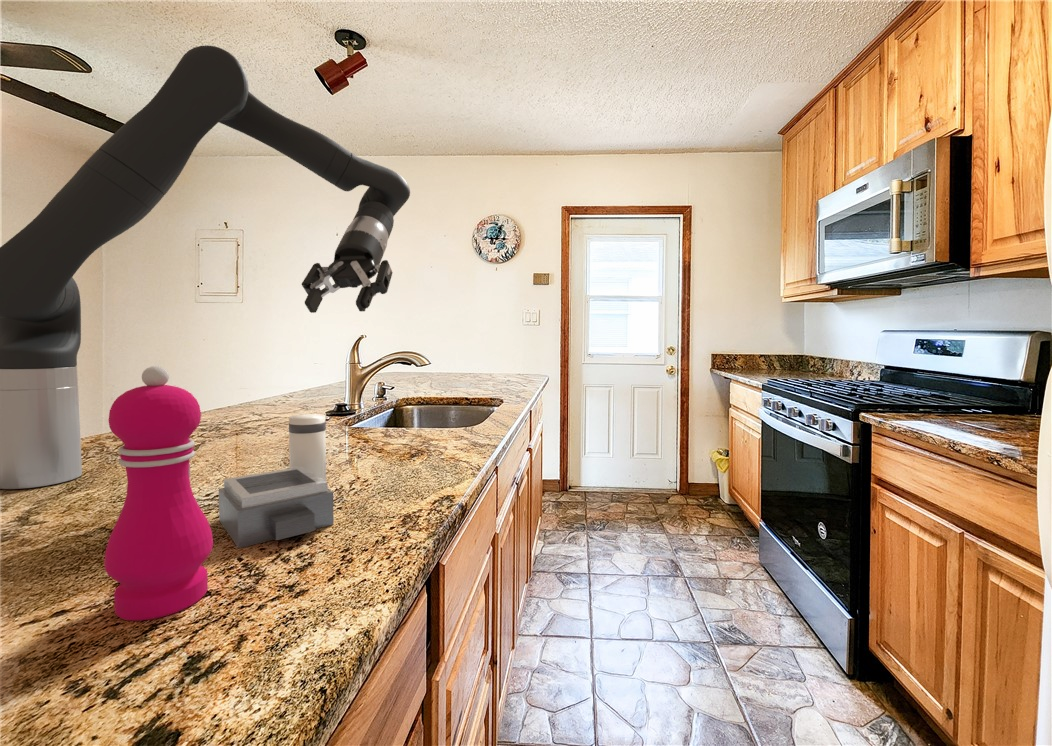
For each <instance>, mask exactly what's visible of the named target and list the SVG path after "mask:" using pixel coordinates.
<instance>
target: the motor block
mask: <svg viewBox="0 0 1052 746" xmlns="http://www.w3.org/2000/svg"><path fill="white" fill-rule="evenodd" d="M218 513H219V514H218V516H219V522H220V524H221V525H222V526H224V527H223V528H224V529H225V531H226V532H227V534H228V536H230V539H232V541H233V542H234V545H236V547H237V548H238V549H242V548H246V547H249V546H253V545H256V544H257V545H258V544H261V543H266V542H270V541H273V540H275V541H280V540H283V539H287V538H288V539H289V538H292V537H296V536H299V535H303V534H307V533H311V532H315V530H317V529H321V528H326V527H329V526H334V525H333V524H334V522H335V521H334V519H335V517H334V491H332V490H330V489H329V488H328V482H327V480H326V481H325V480H323V479H322V478H320V477H318V476H317V475H315V474H314V473H312V472H310V471H309V470H307V469H306V468H304V467H296V468H290V467H289V468H285V469H278V470H272V471H266V472H261V473H253V474H247V475H242V476H235V477H229V478H224V479H223V487H220V488H218ZM325 526H326V527H325Z"/></svg>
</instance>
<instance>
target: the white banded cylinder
mask: <svg viewBox="0 0 1052 746" xmlns="http://www.w3.org/2000/svg"><path fill="white" fill-rule="evenodd" d="M326 430H327V421H326V415H325V414H320V413H303V414H295V415H291V416H289V417H288V436H289V442H288V445H289V452H288V453H289V469H290V468H296V467H304V468H306V469H307V470H309V471H310V472H312V473H314V474H315V475H317V476H318V477H320V478H322V479H323V480H325V481H326V482H327V456H326V455H327V453H326V452H327V451H326V448H327V446H326V444H327V443H326Z"/></svg>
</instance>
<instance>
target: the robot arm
mask: <svg viewBox="0 0 1052 746" xmlns="http://www.w3.org/2000/svg"><path fill="white" fill-rule="evenodd" d="M218 123H220V124H222V125H223V126H226V127H229V128H231V129H233V130H235V131H237V132H239V133H242V134H244V135H247V136H249V137H251V138H252V139H255V140H256V141H258V142H260V143H263V144H264V145H266V146H268V147H270V148H272V149H274V150H275V151H278V152H279V153H280V154H283V155H284V156H286V157H287V158H289V159H291V160H293V161H295V162H296V163H298V164H299V165H301V166H302V167H304V168H306V169H307V170H309V171H310V172H312V173H314V174H316V175H317V176H318V177H320V178H322V179H323V180H325V181H326V182H328V183H330V184H331V185H333V186H335V187H337V188H338V189H340V190H341V191H344V192H351V191H352V190H355V189H356V188H357V187H360V186H365V187H368V188H367V189H366V191H365V192H364V194H363V195H362V196H361V199H360V201H359V204H358V208H357V211H356V213H355V216H354V217H353V218H352V221H351V222H350V224H349V225H348V226H347V228H346V230H345V231H344V233H343V235H342V237H341V239H340V241H339V243H338V245H337V247H336V249H335V251H334V256H333V257H334V258H333V262H331V263H330V264H329V265H328V266H322V265H321V264H320V263H319V262H315V263H314V264H313V265H312V266H311V268H310V269H309V271H308V273H307V274H306V275H305V277H304V279H303V280H302V282H301V287H302V288H303V289H304V291H305V293H306V294H307V296H306V298H305V300H304V305H305V306H306V308H307V310H308V311H309V312H310V313H311V314H312V313H313V314H314V313H315V314H316V313H317V312H318V309H319V307H320V305H321V303H322V301H323V298H324V297H325V296H327V295H328V294H329V293H330V294H333V293H336V292H337V291H339V290H340V289H345V288H355V289H356V288H358V287H359V286H361V288H360V291H359V293H358V295H357V297H356V300H355V306H356V307H357V309H358V311H359V312H366V309H368V308H369V307H370V305H371V304H372V303H371V302H372V300H373V298H374V297H376V296H377V294H381V295H386V294H387V293H388V290H389V288H390V287H389V286H390V283H391V279H392V277H393V270H392V267H391V265H390V263H389V261H388V260H387V259H384V260H383V256H384V254H385V252H386V248H387V246H388V241H389V238H390V236H391V233H392V230H393V229H394V221H395V219H394V217H395V215H397V213H398V212H399V211H400V210H401V208H402V207H403V206H405V204H406V203H407V201H408V200H409V198H410V196H411V190H410V186H409V184H408V183H407V181H406V179H405V178H404V177H403V176H402V175H401V174H399V173H398V172H397V171H394V170H393V169H390V168H389V167H385V166H382V165H380V164H377V163H374V162H372V161H369V160H367V159H363V158H361V157H359V156H356V155H355V154H354V153H353V152H351V151H350V150H348V149H346V148H345V147H343V146H342V145H341V144H339V143H338V142H336V141H334V140H333V139H331V138H329V137H328V136H327V135H324V134H323V133H321V132H319V131H317V130H315V129H313V128H311V127H308V126H306V125H303V124H301V123H299V122H297V121H295V120H292V119H290V118H288V117H286V116H285V115H282V114H281V113H279V112H277V111H275V110H274V109H272V108H271V107H269V106H268V105H267V104H265V103H264V102H262V101H261V100H260V99H259V98H257V97H256V96H255V95H254V94H252V92H250V91H249V83H248V78H247V75H246V71H245V69H244V67H243V66H242V64H241V63H240V61H239V60H238V59H237V58H236V57H235V56H234V55H233V54H231V53H230V52H229V51H227V50H226V49H223V48H221V47H219V46H214V45H200V46H198V45H197V46H194V47H193V48H191V49H189V50H188V51H186V52H185V53H184V55H182V57H181V58H180V60H179V61H178V63H177V64H176V66H175V67H174V69H173V70H172V72H171V73H170V75H169V76H168V77H167V79H166V81H164V83H163V84H162V86H161V87H160V89H159V90H158V91H157V92H156V94H155V95H154V96H153V98H152V99H151V100H150V101H149V102H148V103H146V104H145V106H144V107H142V108H141V110H139V111H137V113H135V114H134V115H133V116H132V117H131V118H130V119H128V120H127V121H126V122H125V123H124V124H123V125H122V126H121V127H120V128H118V130H116V131H115V132H114V133H113V134H112V135H111V136H110V137H109V138H108V139H107V140H106V141H105V142H104V143H103V144H101V146H100V147H98V149H97V150H96V151H95V152H94V153H92V155H91V156H90V157H89V158H88V159H86V161H85V162H84V163H83V164H82V165H81V167H79V169H78V170H77V171H76V173H74V175H73V176H72V177H71V178H70V179H69V180H68V181H67V182H66V183H65V185H64V186H62V188H61V189H59V191H58V192H57V193H56V194H55V195H54V196H53V197H52V198H51V199H50V201H49V202H48V203H47V204H46V205H45V207H44V208H43V209H42V210H41V211H40V212H39V214H38V215H36V216H35V218H34V219H32V220H31V221H30V222H29V223H28V224H27V225H26V226H25V227H23V228H22V229H21V230H20V231H19V232H18V233H15V235H13V236H12V237H10V239H9V240H8V241H6V242H5V243H4V244H2V245H1V246H0V489H1V490H18V489H20V490H21V489H31V488H40V487H46V486H51V485H55V484H60V483H64V482H69V481H72V480H75V479H78V478H79V477H81V476H83V475H82V474H83V470H82V469H83V467H82V466H83V465H82V443H81V442H82V440H81V422H80V421H81V420H80V417H81V416H80V399H79V385H78V384H79V382H78V380H79V379H78V361H77V360H78V354H79V353H78V352H79V350H80V348H81V342H82V310H81V309H82V306H81V296H80V290H79V286H78V284H77V282H76V281H75V279H74V278H73V277H74V276H75V274H76V273H77V271H78V270H79V269H80V267H81V266H82V265H83V264H84V263H85V262H86V260H87V259H88V258H89V257H91V256H92V254H94V252H96V251H97V250H98V249H100V248H101V247H102V246H104V245H105V244H106V243H108V242H110V241H112V240H113V239H115V238H116V237H118V236H120V235H122V234H123V233H125V232H126V231H128V230H129V229H131V228H132V227H134V226H136V225H137V224H138V223H139V222H140V221H142V220H143V219H144V218H145V217H147V215H149V213H150V212H152V210H153V209H154V208H155V207H156V206H157V205H158V204H159V203H160V201H161V200H163V198H164V196H166V194H167V193H168V192H169V190H170V189H171V188H172V187H173V185H175V183H176V181H177V180H178V178H179V176H180V175H181V173H182V172H183V170H184V168H185V166H186V165H187V163H188V161H189V160H190V157H191V156H192V154H193V152H194V150H195V149H196V147H197V145H198V144H199V143H200V141H201V140H202V139H203V138H204V137H205V135H207V134H208V133H209V132H210V131H211V130H212V129H213V128H214V127H215V126H216V125H217V124H218ZM374 276H376V278H375V281H374V282H372V281H371V280H370V279H371V278H374ZM330 278H331V279H332V281H333V282H334V283H333V284H332V283H331V281H330ZM323 285H324V288H323V289H321V287H322V286H323Z"/></svg>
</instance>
